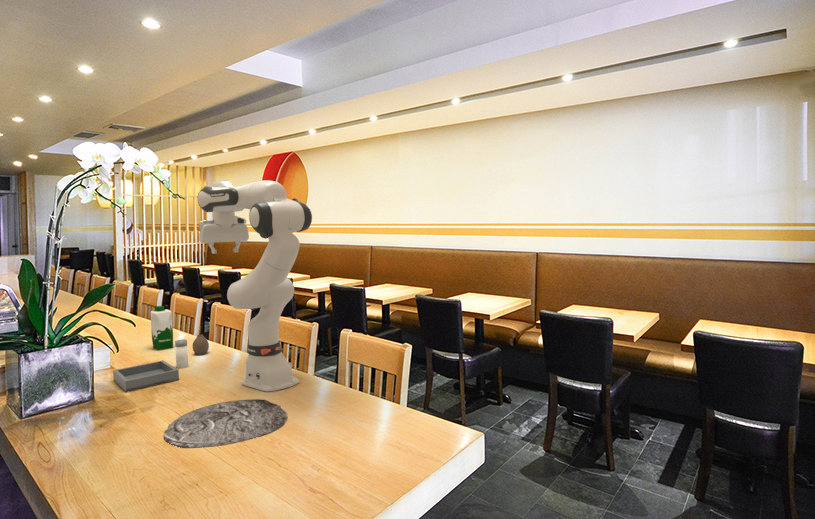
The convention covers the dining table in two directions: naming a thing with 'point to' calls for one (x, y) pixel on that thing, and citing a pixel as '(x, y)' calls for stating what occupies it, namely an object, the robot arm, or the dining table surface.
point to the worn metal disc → (225, 423)
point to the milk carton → (162, 328)
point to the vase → (200, 345)
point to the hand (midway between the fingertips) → (225, 252)
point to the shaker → (181, 353)
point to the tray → (145, 375)
